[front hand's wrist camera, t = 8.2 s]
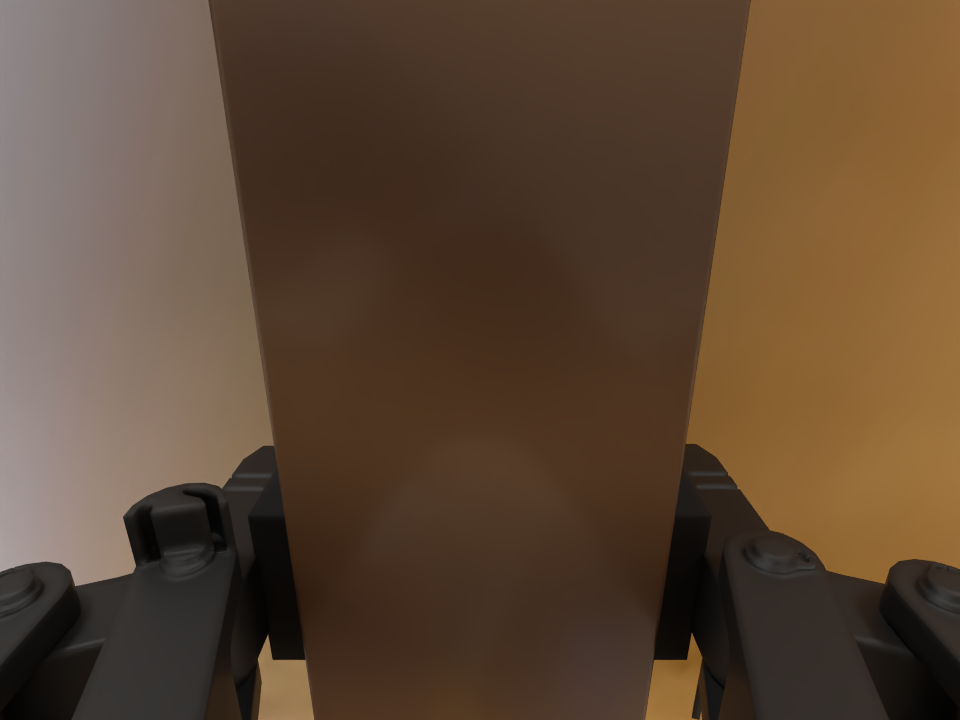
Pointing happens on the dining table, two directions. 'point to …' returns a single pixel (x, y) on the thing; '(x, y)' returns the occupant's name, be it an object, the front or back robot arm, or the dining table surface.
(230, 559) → the front robot arm
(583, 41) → the beam
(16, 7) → the dining table surface
